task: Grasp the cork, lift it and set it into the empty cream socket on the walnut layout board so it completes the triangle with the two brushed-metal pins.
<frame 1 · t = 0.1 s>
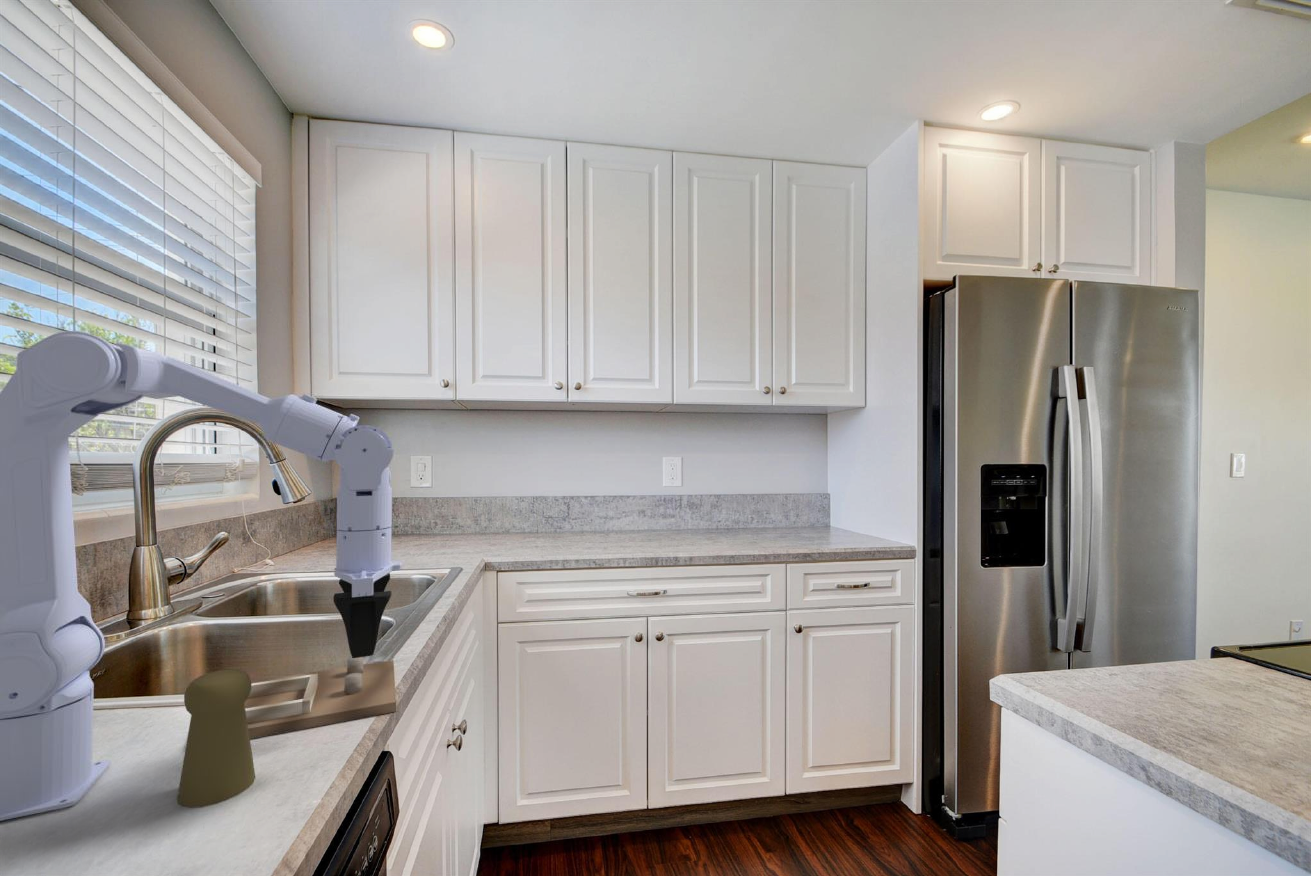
hand: (363, 645, 66), 10 cm above the countertop, fingers open, 7 cm apart
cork: (217, 789, 55), on the countertop
layout board: (310, 702, 74), on the countertop
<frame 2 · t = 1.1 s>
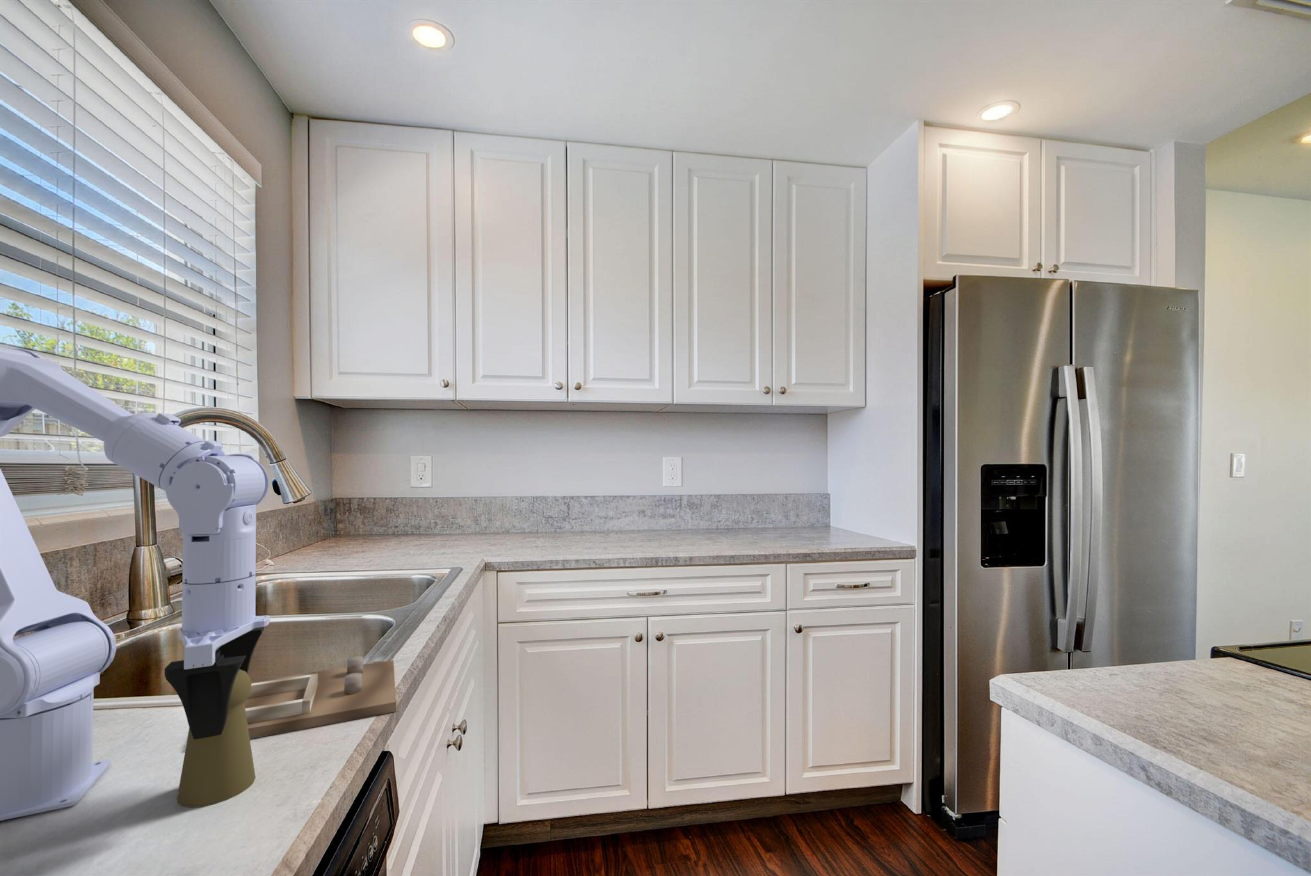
hand: (219, 718, 55), 7 cm above the countertop, fingers open, 7 cm apart
nothing on the countertop moved.
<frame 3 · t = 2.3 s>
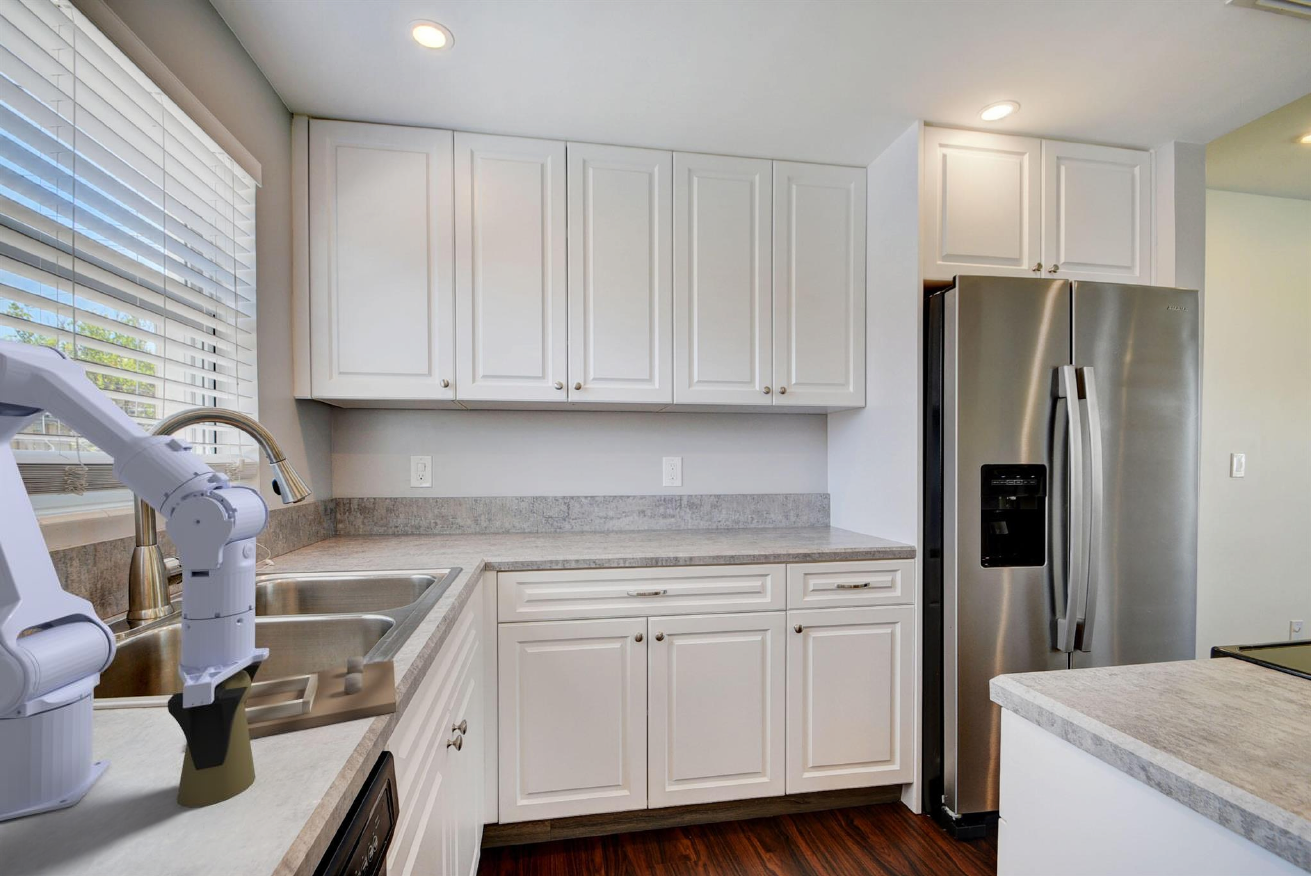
hand: (217, 751, 55), 3 cm above the countertop, fingers closed on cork, 5 cm apart
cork: (217, 789, 55), on the countertop, touching gripper
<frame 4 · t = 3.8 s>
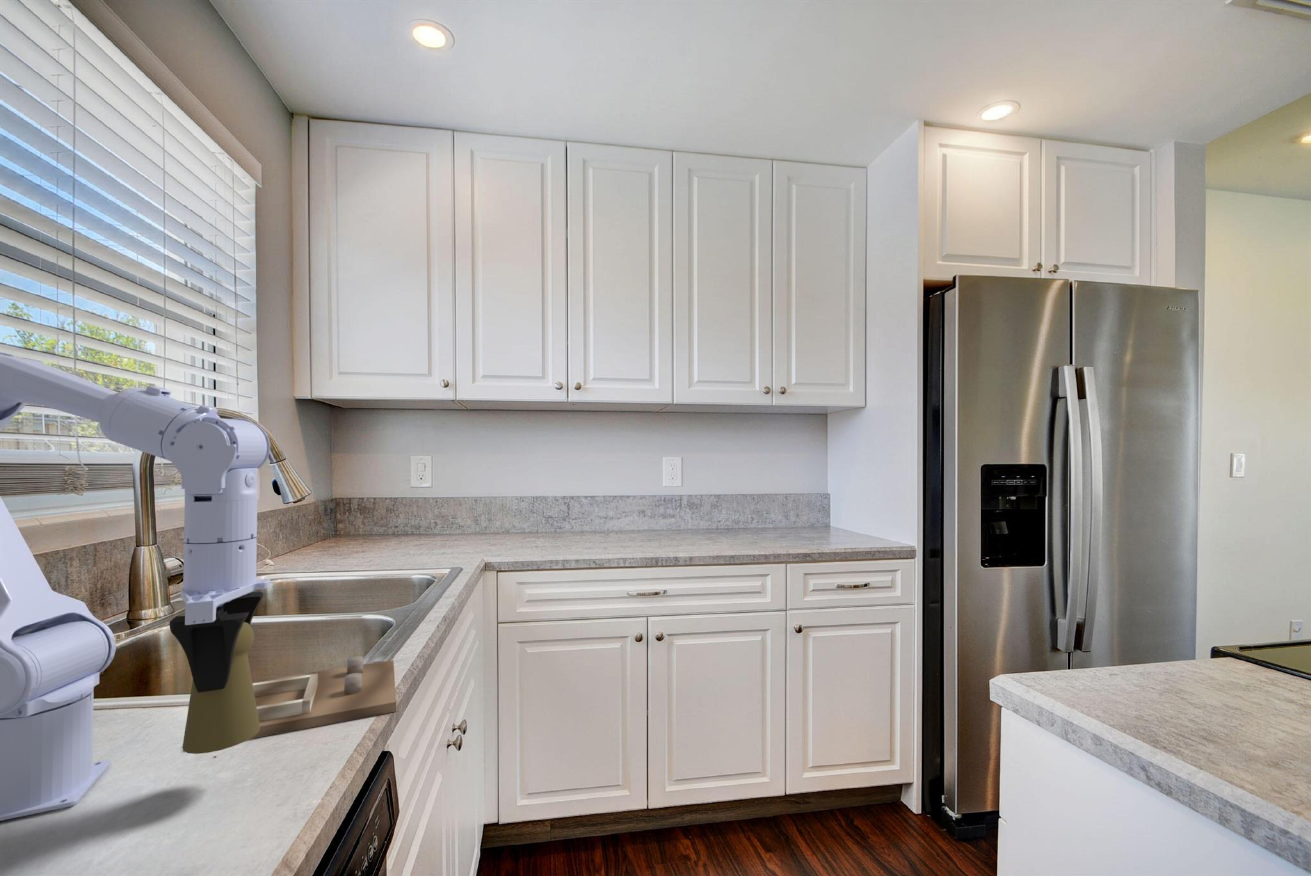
hand: (219, 678, 56), 10 cm above the countertop, fingers closed on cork, 5 cm apart
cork: (222, 739, 55), point 4 cm above the countertop, touching gripper
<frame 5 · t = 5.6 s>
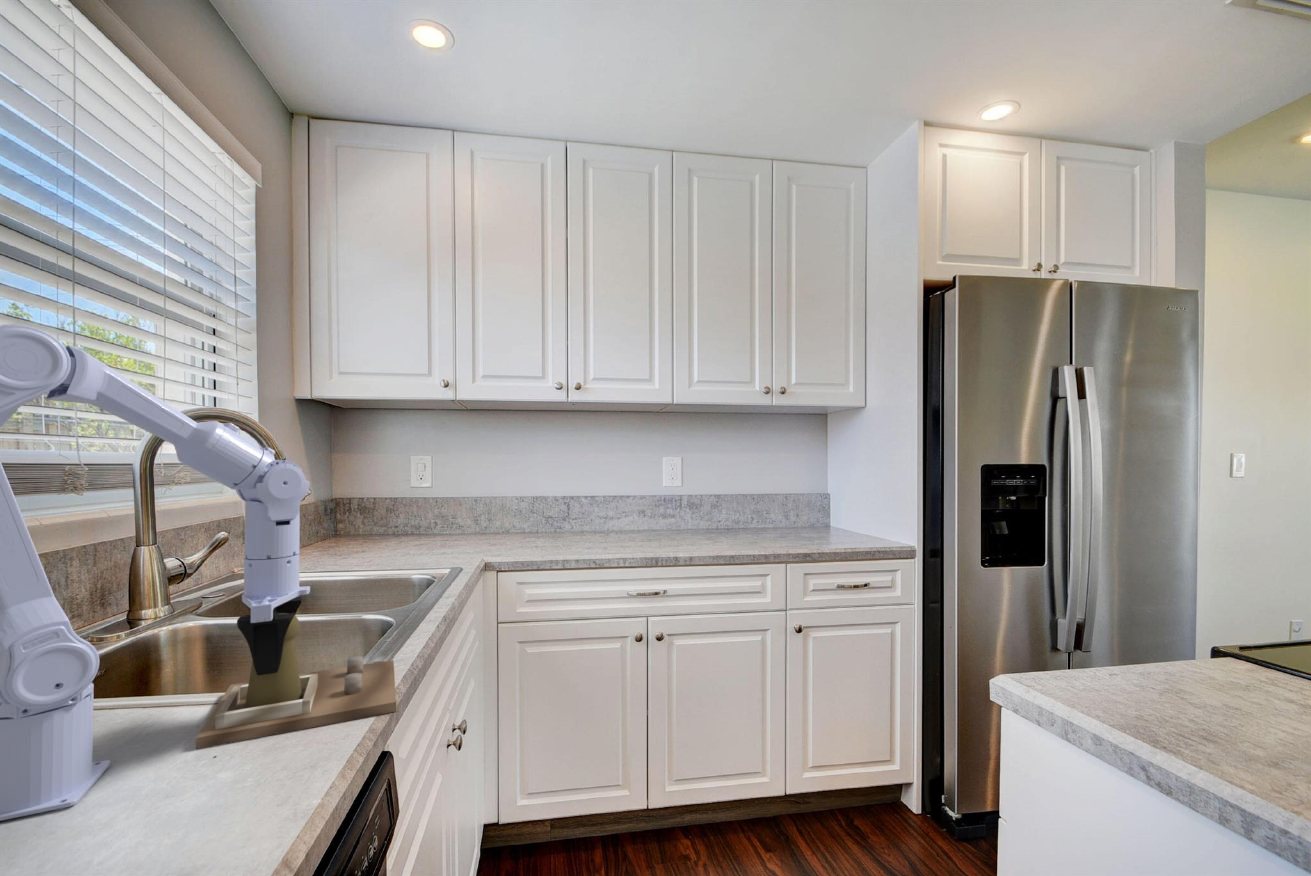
hand: (271, 665, 70), 6 cm above the countertop, fingers closed on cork, 5 cm apart
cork: (274, 705, 71), point 1 cm above the countertop, touching gripper, layout board
when the fingers open (6 cm above the countertop, at t = 6.5 s): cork stays where it is, resting on layout board.
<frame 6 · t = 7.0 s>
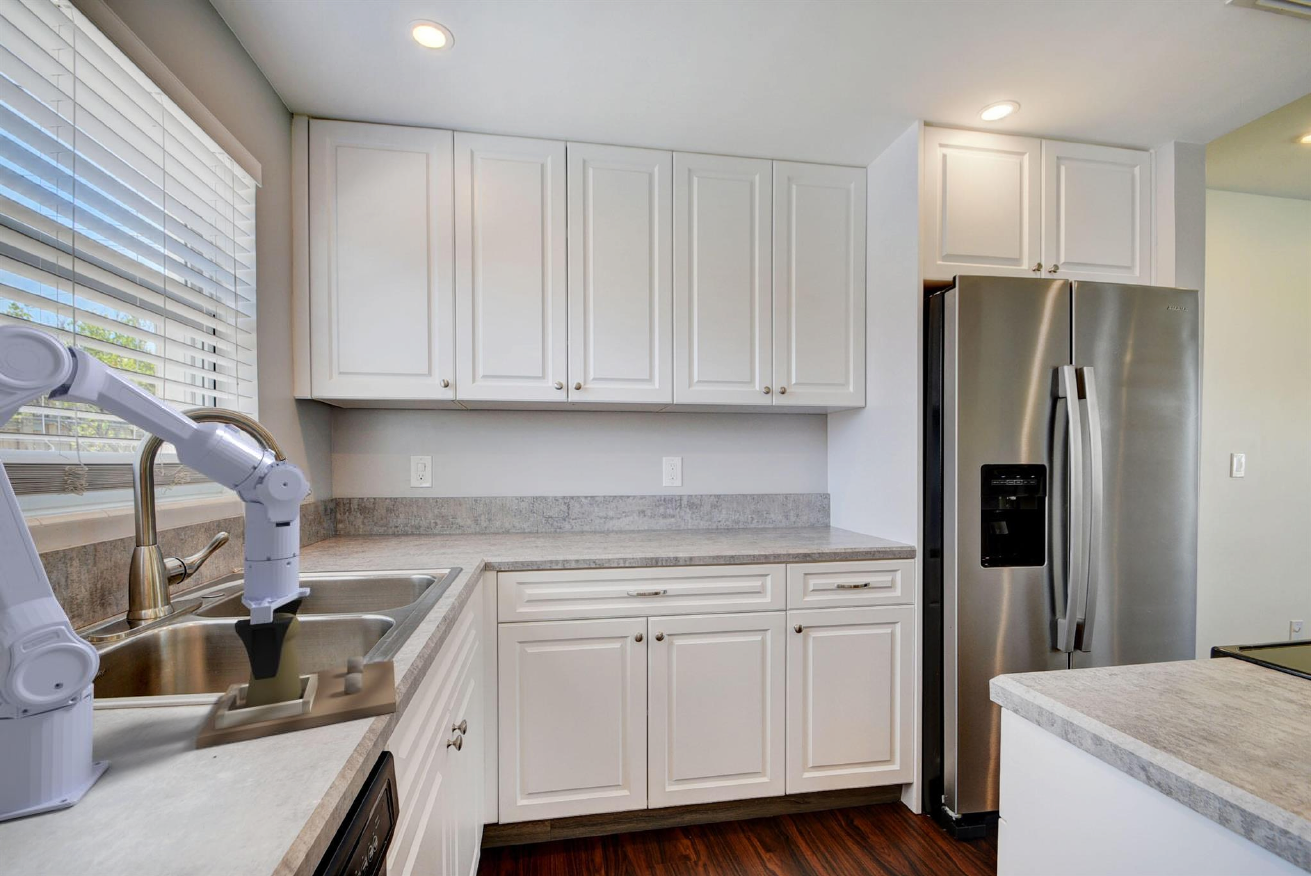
hand: (271, 666, 70), 6 cm above the countertop, fingers open, 7 cm apart
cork: (274, 705, 71), point 1 cm above the countertop, touching layout board
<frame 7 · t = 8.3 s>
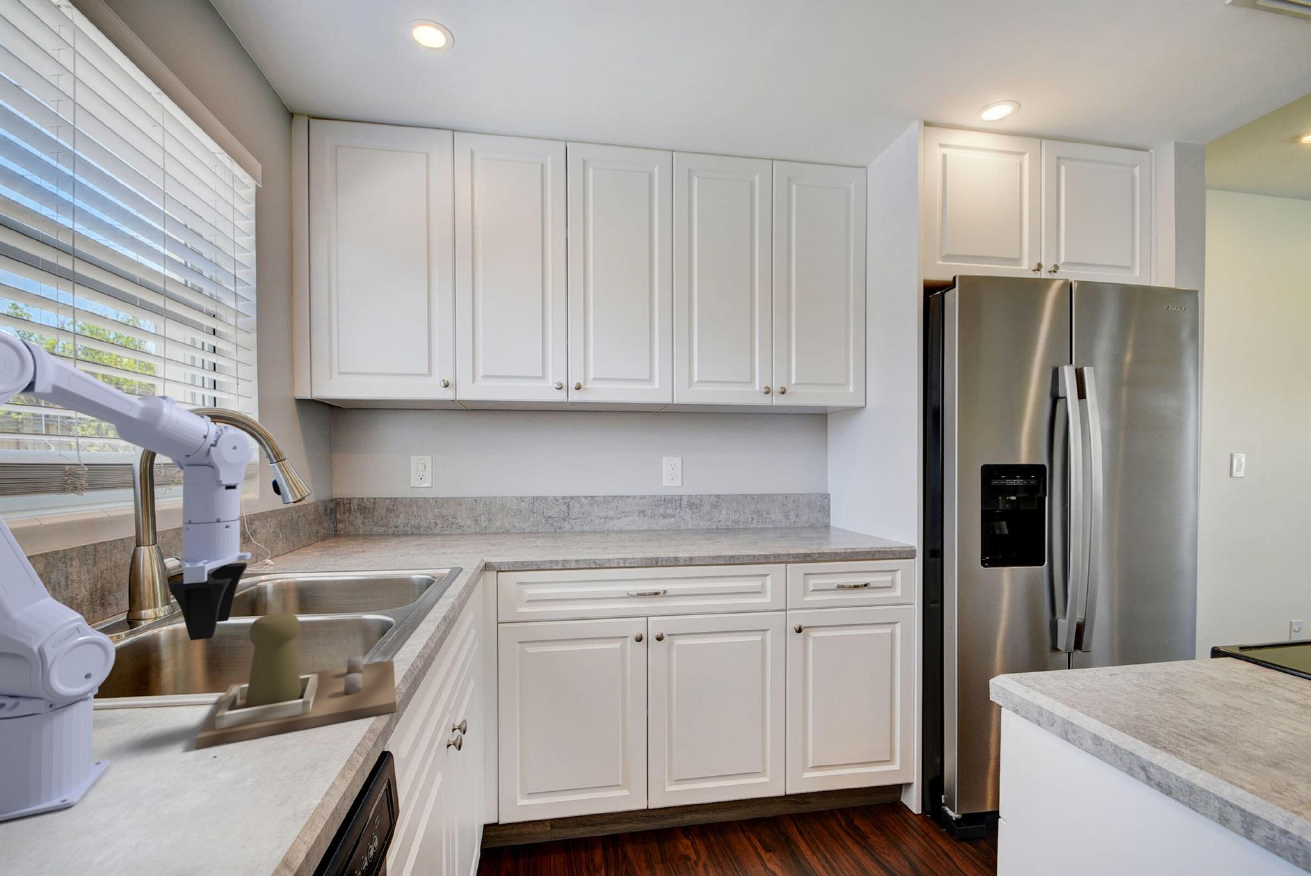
hand: (210, 629, 71), 10 cm above the countertop, fingers open, 7 cm apart
nothing on the countertop moved.
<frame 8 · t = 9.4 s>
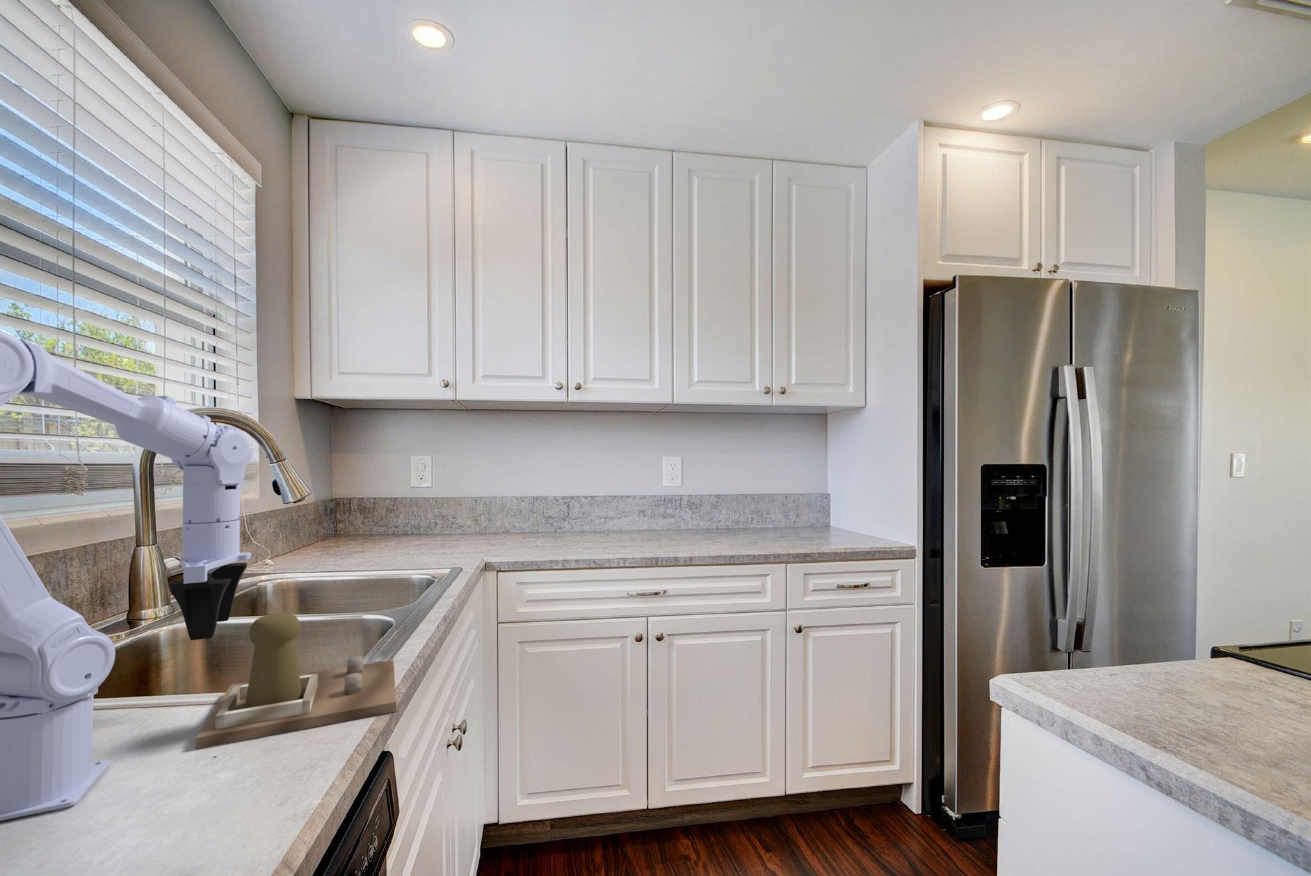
hand: (210, 629, 71), 10 cm above the countertop, fingers open, 7 cm apart
nothing on the countertop moved.
at the end: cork 0.3 cm from the target spot on the layout board, point 1.0 cm above the layout board's base; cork tilted 0°; the gripper is holding nothing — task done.
